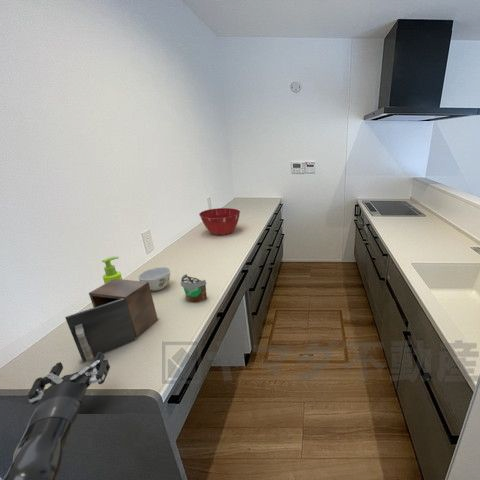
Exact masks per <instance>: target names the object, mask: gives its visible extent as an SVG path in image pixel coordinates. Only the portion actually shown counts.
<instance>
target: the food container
mask: <svg viewBox="0 0 480 480" xmlns="http://www.w3.org/2000/svg"><path fill="white" fill-rule="evenodd" d="M180 286H181V287H182V288H183V292H184V294H185V298H186V300H187V302H190V303H199V302H203V301H205V300H207V299H208V298H207V297H208V295H207V281H206V279H203V280H202V279H199V278H197V277H193V276H188V274H187V273H186V274H183V276H182V277H181V279H180Z"/></svg>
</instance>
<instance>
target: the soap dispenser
mask: <svg viewBox="0 0 480 480" xmlns="http://www.w3.org/2000/svg"><path fill="white" fill-rule="evenodd" d="M117 259H120V257H119V256H109V257H107V258H104V259H102V260H101V262H102V263H104V264H105V267H103V270H104V274H103V275H102V279H103V283H104V284H106V283H108V282H110V281H111V280H113V279H123V277H122V274H121V272H120V271H117V270H116V266H115V265H114V264H112V262H111V261H113V260H117Z"/></svg>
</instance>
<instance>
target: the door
mask: <svg viewBox="0 0 480 480" xmlns="http://www.w3.org/2000/svg"><path fill="white" fill-rule="evenodd" d="M65 321H66V323H67V326H68V328H69V331H70V334H71V336H72V338H73V341H74V344H75V346H76V348H77V350H78V353H79V355H80V358H81V360H82V363H85V362H91V361H92V360H94V359H95V357H96V355H97V353H98V352H101V353H103V354H104V355H105V354H107V353H109V352H111V351H113V350H116V349H118V348H121V347H123V346H125V345H128V344H129V343H132V342H135V341H136V340H137V338H135V335H134V332H133V328H132V325H131V322H130V318H129V315H128V312H127V308H126V305H125V302H124V299H123V298H122V299H119V300H116V301H113V302H110V303H107V304H104V305H101V306H98V307H95V308H94V307H92V308H88V309H86V310H82V311H79V312H76V313H74V314H70V315H67V316H65Z"/></svg>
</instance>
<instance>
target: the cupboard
mask: <svg viewBox="0 0 480 480" xmlns="http://www.w3.org/2000/svg"><path fill="white" fill-rule="evenodd" d="M88 295H89V298H90V301H91V304H92V308H95V307H98V306H101V305H104V304H107V303H110V302H113V301H116V300H119V299H122V298H123V299H124V302H125V305H126V308H127V312H128V315H129V318H130V322H131V325H132V328H133V332H134V335H135V339H137V338H139V337H140V336H141V335H143V333H145V332H146V331H147V330H148V329H149V328H151V327H152V326H153V325H154V324H155V323H157V321H158V320H159V319H158V315H157V311H156V307H155V303H154V299H153V295H152V290H150V286H149V282H143V281H140V280H132V279H131V280H130V279H123V278H122V279H113V280H111V281H110V282H108V283H106V284H105V283H104V284H102V285H100V286H98V287H97V288H95V289H93V290H91V291H90V292H88Z"/></svg>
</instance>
